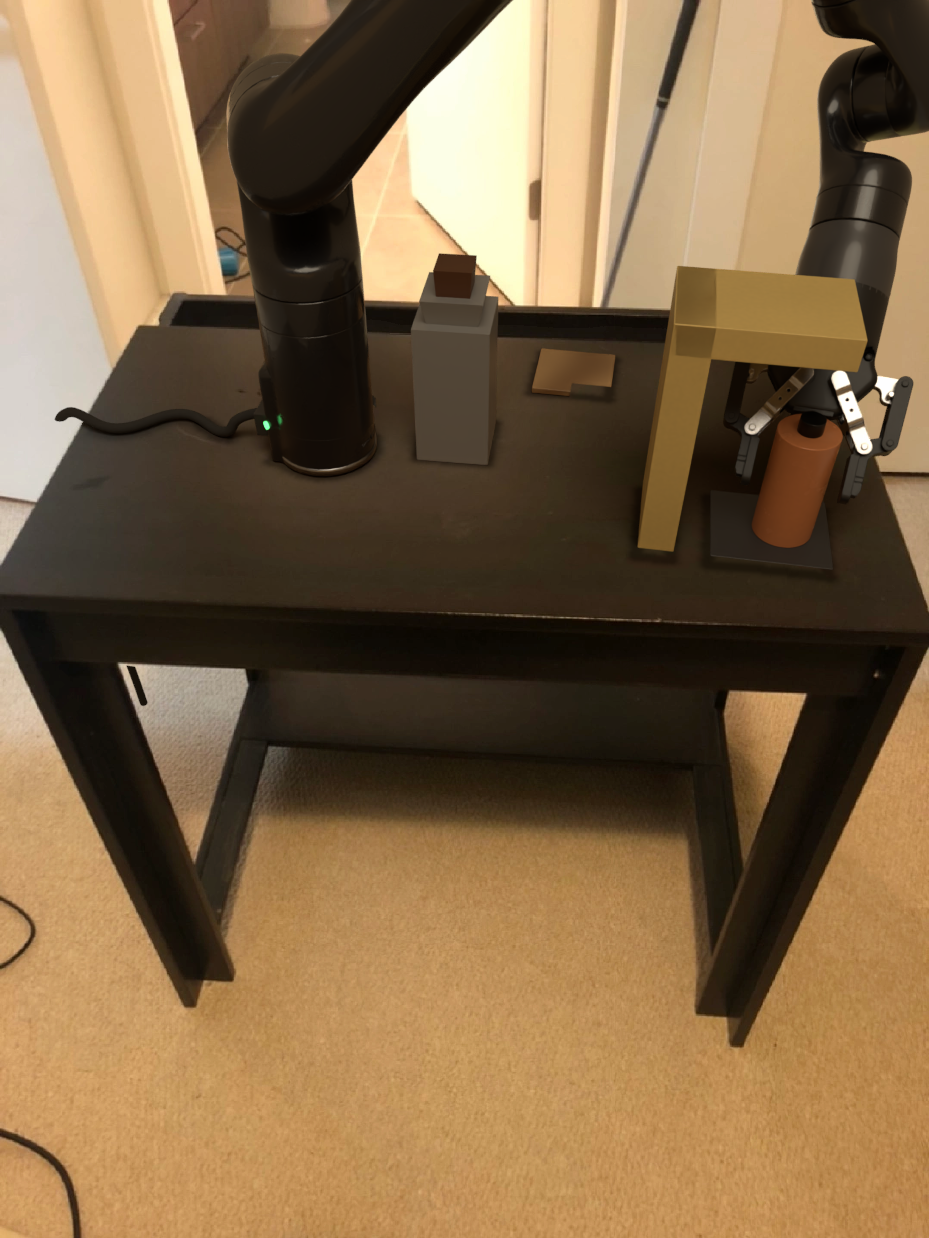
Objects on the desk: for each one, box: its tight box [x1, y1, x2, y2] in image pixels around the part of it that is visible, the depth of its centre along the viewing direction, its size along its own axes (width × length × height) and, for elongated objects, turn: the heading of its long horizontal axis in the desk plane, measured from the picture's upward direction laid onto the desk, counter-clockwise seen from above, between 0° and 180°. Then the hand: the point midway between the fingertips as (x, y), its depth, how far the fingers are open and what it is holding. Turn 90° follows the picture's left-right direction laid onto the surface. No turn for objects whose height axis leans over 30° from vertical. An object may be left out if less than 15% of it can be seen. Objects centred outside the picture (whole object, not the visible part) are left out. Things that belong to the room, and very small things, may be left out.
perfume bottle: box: [410, 252, 499, 466], centre depth 89 cm, size 7×7×18 cm
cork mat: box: [531, 348, 616, 397], centre depth 103 cm, size 8×8×1 cm
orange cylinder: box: [752, 411, 844, 548], centre depth 80 cm, size 5×5×11 cm
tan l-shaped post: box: [637, 265, 868, 571], centre depth 78 cm, size 16×9×22 cm, turn 80°
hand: (793, 492), depth 80 cm, fingers open, 7 cm apart
